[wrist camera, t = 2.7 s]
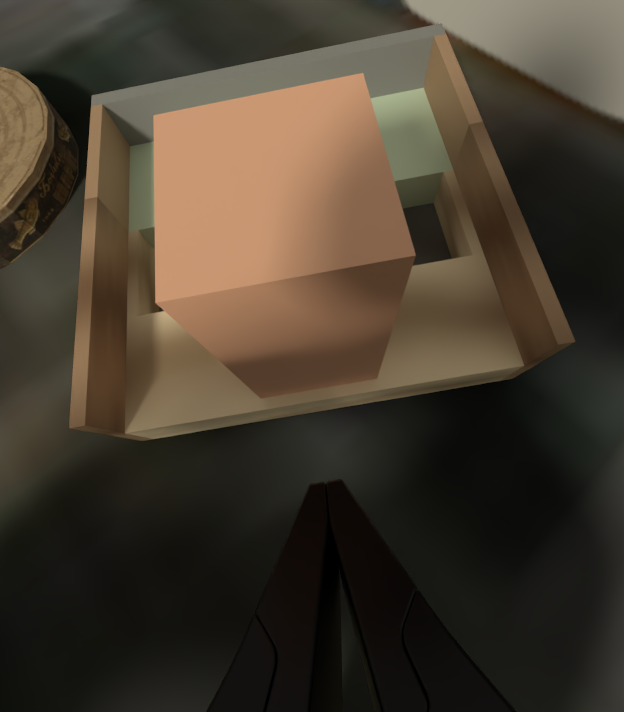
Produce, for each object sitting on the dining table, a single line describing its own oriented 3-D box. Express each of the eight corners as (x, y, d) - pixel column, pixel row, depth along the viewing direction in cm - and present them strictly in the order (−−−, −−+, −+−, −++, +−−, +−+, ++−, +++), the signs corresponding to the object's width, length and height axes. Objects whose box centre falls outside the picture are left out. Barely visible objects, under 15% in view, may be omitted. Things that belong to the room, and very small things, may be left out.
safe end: (451, 203, 21) (482, 121, 16) (142, 260, 21) (84, 199, 17) (421, 117, 23) (441, 23, 18) (143, 172, 23) (91, 95, 19)
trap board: (512, 378, 17) (575, 341, 12) (142, 440, 18) (68, 428, 13) (451, 203, 21) (482, 121, 16) (142, 260, 21) (84, 199, 17)
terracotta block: (377, 378, 15) (415, 255, 7) (260, 398, 15) (155, 302, 7) (354, 276, 17) (363, 72, 8) (249, 295, 17) (153, 115, 9)
